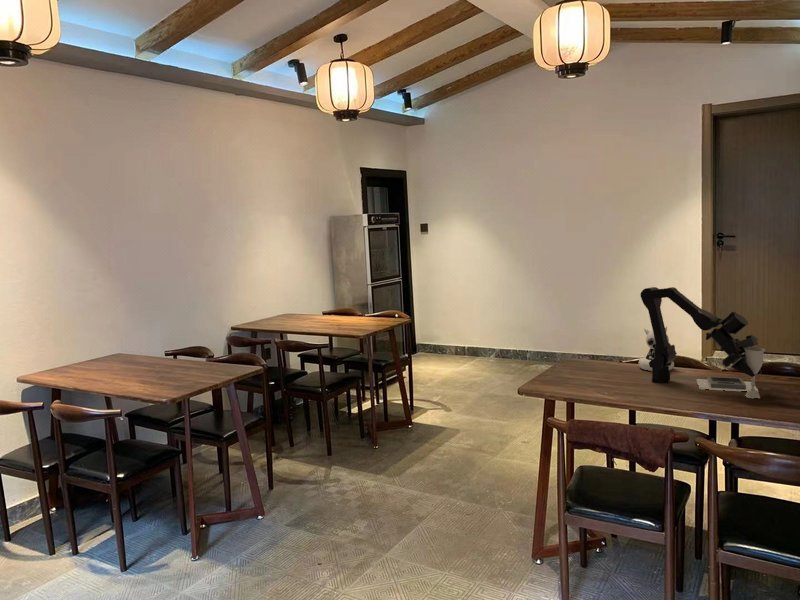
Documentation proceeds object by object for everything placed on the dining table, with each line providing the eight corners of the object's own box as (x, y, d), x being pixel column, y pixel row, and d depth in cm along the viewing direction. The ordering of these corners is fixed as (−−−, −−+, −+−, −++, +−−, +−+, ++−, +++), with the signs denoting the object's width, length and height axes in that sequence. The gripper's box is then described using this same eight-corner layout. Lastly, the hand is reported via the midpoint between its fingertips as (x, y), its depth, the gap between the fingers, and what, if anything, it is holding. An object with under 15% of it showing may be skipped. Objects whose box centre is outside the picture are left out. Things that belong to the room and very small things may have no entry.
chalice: (766, 399, 217) (768, 351, 216) (746, 399, 219) (747, 350, 217) (758, 394, 225) (760, 347, 223) (739, 393, 226) (740, 347, 224)
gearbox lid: (699, 389, 234) (699, 383, 234) (696, 380, 247) (696, 375, 247) (758, 392, 227) (758, 386, 227) (751, 383, 240) (752, 378, 240)
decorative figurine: (633, 370, 270) (634, 326, 268) (644, 364, 281) (644, 322, 279) (668, 374, 260) (669, 329, 258) (678, 367, 271) (678, 324, 269)
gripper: (732, 331, 216) (764, 366, 209) (753, 325, 228) (784, 357, 220) (709, 350, 223) (740, 384, 216) (730, 343, 235) (760, 375, 227)
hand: (757, 374), depth 220 cm, fingers closed on chalice, 6 cm apart
